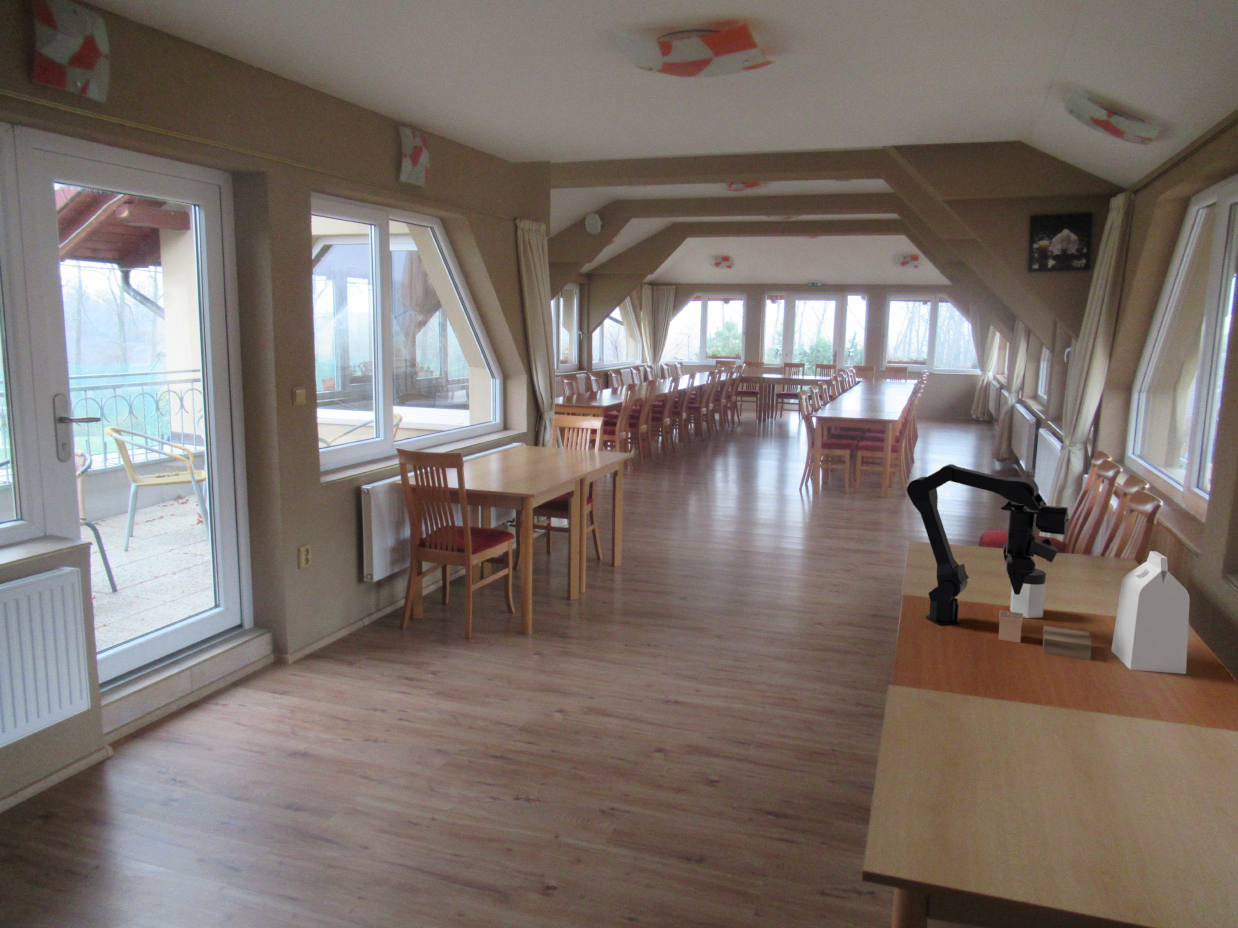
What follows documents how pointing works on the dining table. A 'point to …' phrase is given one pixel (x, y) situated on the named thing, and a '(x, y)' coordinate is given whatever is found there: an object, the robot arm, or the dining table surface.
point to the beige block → (1067, 642)
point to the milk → (1152, 619)
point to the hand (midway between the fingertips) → (1015, 589)
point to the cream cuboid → (1010, 626)
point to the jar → (1030, 596)
